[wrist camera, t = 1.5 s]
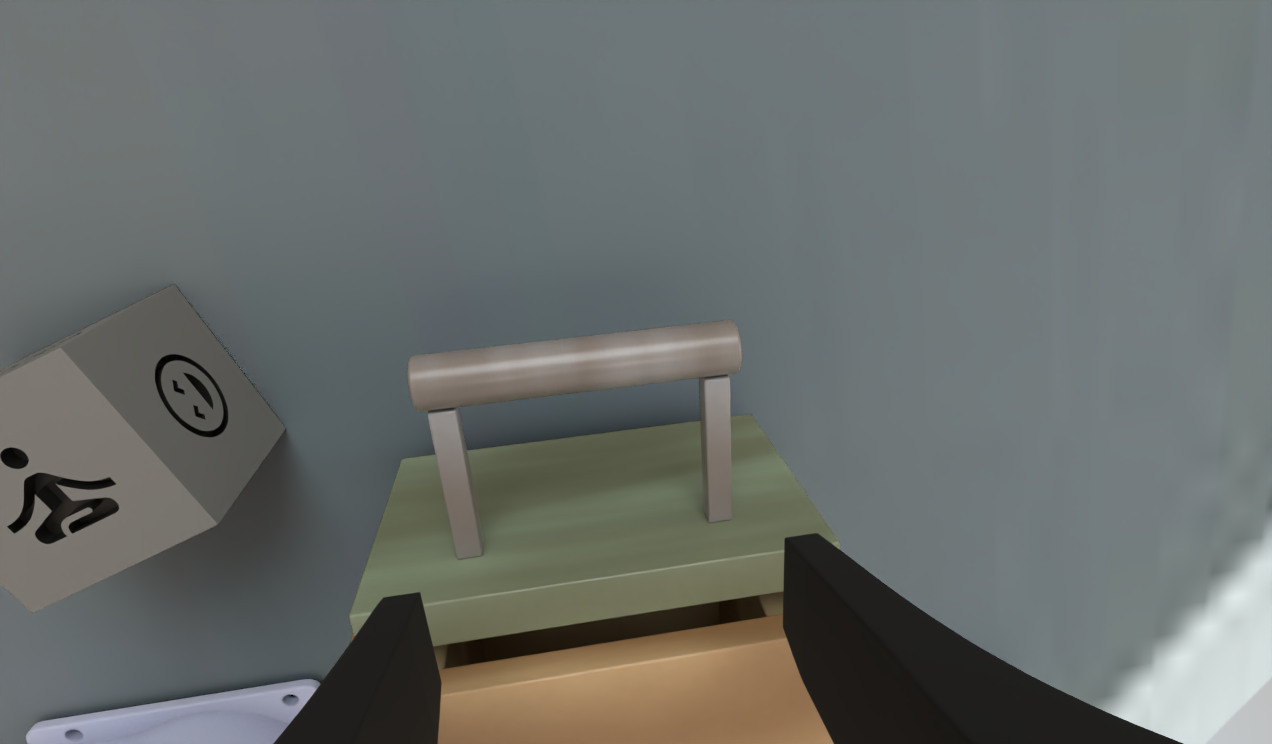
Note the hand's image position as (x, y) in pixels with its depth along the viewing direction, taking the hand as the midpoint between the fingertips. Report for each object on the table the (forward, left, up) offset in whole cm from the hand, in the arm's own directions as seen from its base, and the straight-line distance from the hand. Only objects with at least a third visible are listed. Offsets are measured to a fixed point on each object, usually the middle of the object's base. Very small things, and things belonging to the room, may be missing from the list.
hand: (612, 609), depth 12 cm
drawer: (0, -5, -10) cm, 11 cm away
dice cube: (-12, +1, -11) cm, 16 cm away
